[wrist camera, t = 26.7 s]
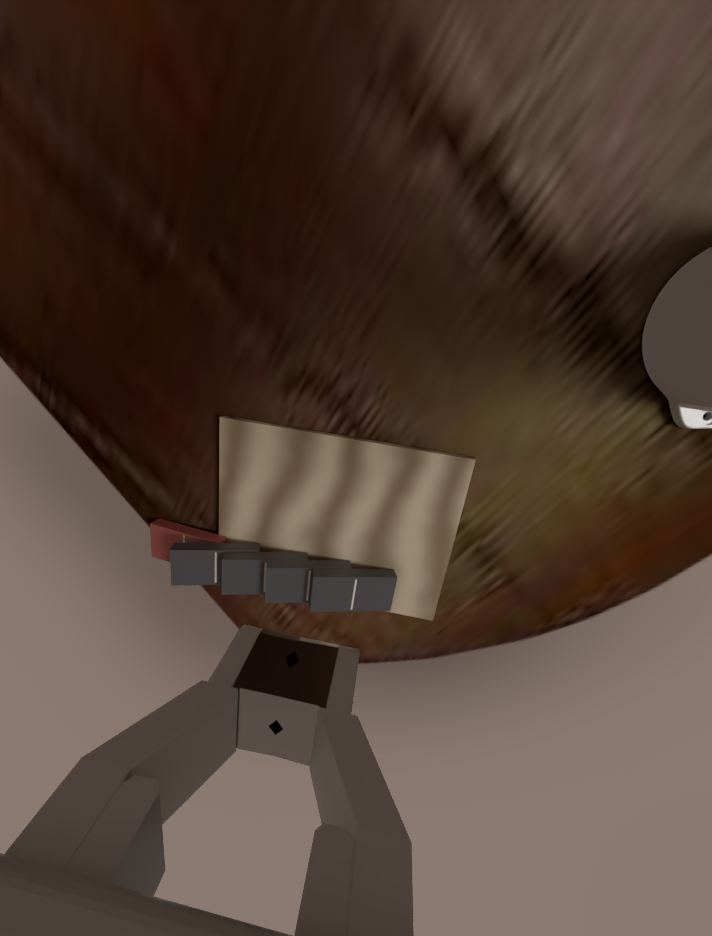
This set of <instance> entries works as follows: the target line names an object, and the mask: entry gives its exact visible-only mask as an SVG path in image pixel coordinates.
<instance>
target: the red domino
mask: <svg viewBox="0 0 712 936" xmlns="http://www.w3.org/2000/svg"><path fill="white" fill-rule="evenodd" d="M150 531H151V548H152V556H153V557H156V558H159V559H162V560H166V561H169V562H170V549H171V547H172V545H173V543H226V537H225V536H221V535H218V534H214V533H210V532H207V531H203V530H200V529H196V528H192V527H189V526H185V525H182V524H178V523H175V522H171V521H167V520H164V519H160V518H159V519H157V520H156V521H154V522H152V523H150Z"/></svg>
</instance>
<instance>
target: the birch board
mask: <svg viewBox="0 0 712 936" xmlns="http://www.w3.org/2000/svg"><path fill="white" fill-rule="evenodd" d="M475 461H476V459H475V458H474V457H470V456H464V455H458V454H452V453H446V452H440V451H434V450H428V449H422V448H416V447H410V446H404V445H398V444H392V443H386V442H380V441H374V440H368V439H362V438H356V437H350V436H344V435H338V434H332V433H326V432H320V431H313V430H307V429H301V428H295V427H289V426H283V425H277V424H271V423H265V422H259V421H253V420H247V419H241V418H235V417H229V416H221V417H220V441H219V535H221V536H225V537H226V543H260V550H259V552H307V553H308V560H348V561H350V564H351V567H352V569H394V571H395V573H396V575H397V582H396V587H395V591H394V596H393V601H392V606H391V610H390V611H387V612H392V613H397V614H402V615H407V616H412V617H417V618H422V619H427V620H432V621H433V618H434V614H435V611H436V607H437V603H438V599H439V596H440V592H441V588H442V584H443V581H444V577H445V573H446V569H447V566H448V562H449V558H450V554H451V551H452V547H453V543H454V539H455V536H456V532H457V528H458V524H459V521H460V517H461V513H462V509H463V506H464V502H465V498H466V494H467V491H468V487H469V483H470V479H471V476H472V472H473V468H474V464H475Z"/></svg>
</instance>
